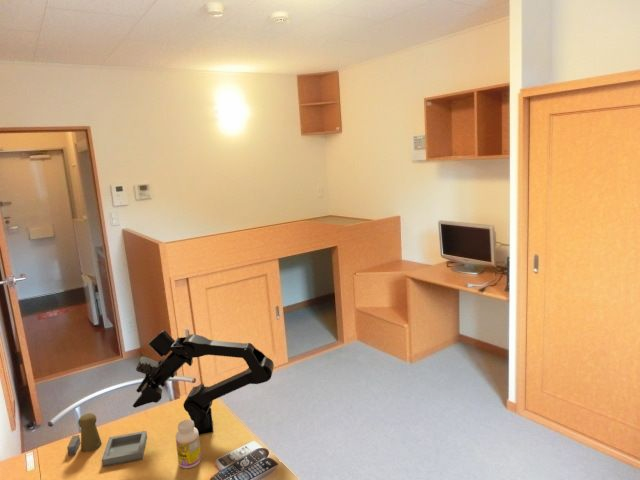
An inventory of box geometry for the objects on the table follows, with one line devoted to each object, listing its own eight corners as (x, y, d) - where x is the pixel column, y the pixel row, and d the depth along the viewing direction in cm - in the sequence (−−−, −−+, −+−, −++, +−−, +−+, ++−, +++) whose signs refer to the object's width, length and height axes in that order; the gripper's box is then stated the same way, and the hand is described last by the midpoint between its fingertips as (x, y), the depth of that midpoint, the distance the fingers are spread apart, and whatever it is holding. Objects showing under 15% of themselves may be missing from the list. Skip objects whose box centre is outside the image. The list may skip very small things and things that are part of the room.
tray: (147, 437, 148) (146, 430, 147) (142, 459, 137) (141, 452, 137) (110, 444, 145) (109, 437, 145) (102, 467, 134) (101, 459, 134)
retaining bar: (80, 443, 146) (79, 435, 146) (75, 454, 141) (74, 446, 140) (73, 444, 146) (72, 436, 145) (68, 455, 140) (67, 447, 140)
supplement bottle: (174, 462, 135) (169, 424, 132) (193, 451, 140) (189, 414, 137) (186, 472, 130) (181, 433, 128) (205, 460, 135) (201, 422, 133)
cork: (93, 453, 141) (88, 422, 139) (76, 451, 142) (71, 420, 140) (105, 441, 147) (101, 411, 145) (89, 439, 148) (85, 409, 146)
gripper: (154, 338, 152) (120, 370, 152) (148, 363, 135) (110, 400, 134) (178, 358, 156) (145, 389, 155) (176, 384, 138) (139, 420, 138)
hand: (135, 398), depth 145 cm, fingers open, 9 cm apart
